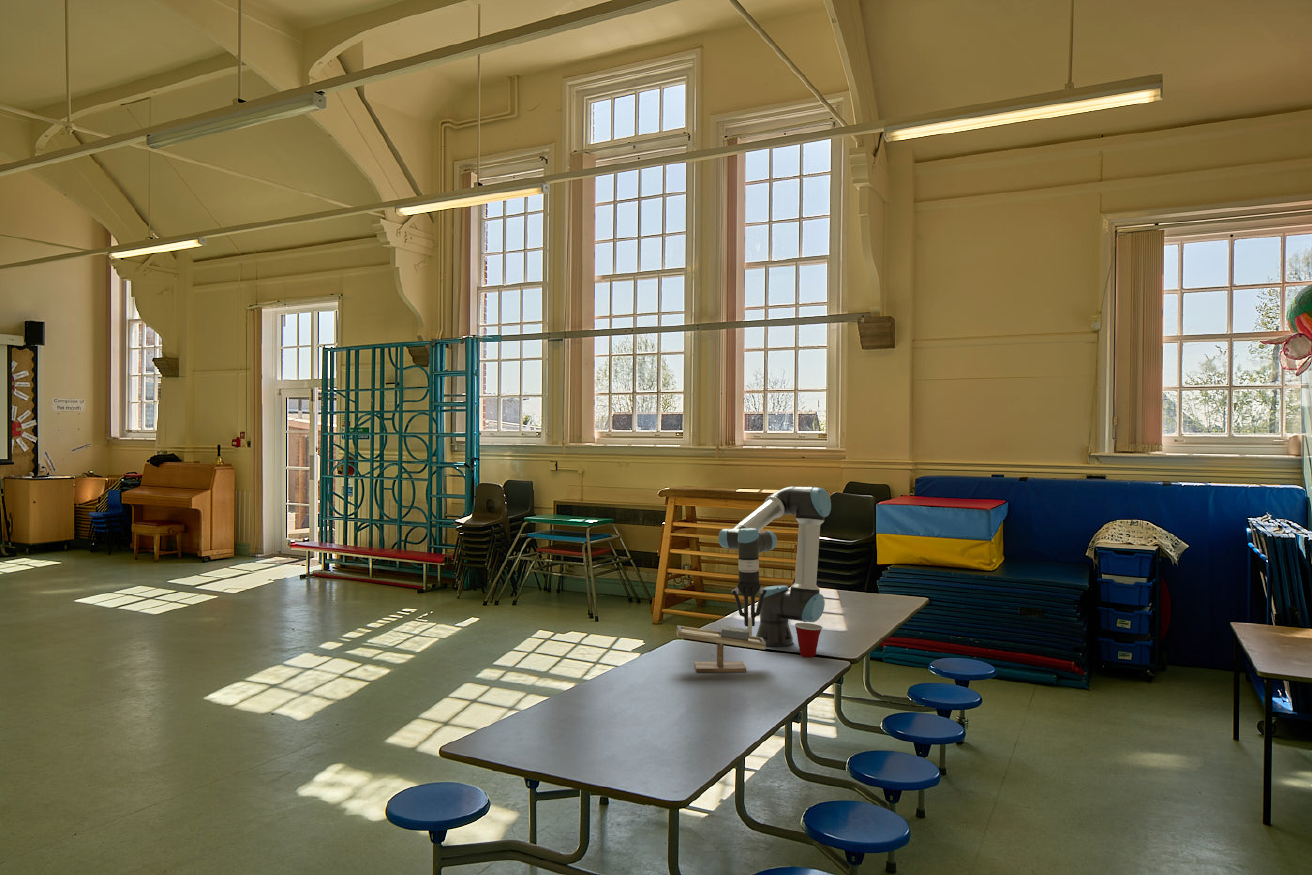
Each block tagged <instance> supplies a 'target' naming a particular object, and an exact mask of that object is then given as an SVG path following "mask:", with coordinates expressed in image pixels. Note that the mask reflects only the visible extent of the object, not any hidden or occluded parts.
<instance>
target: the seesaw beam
mask: <svg viewBox="0 0 1312 875" xmlns="http://www.w3.org/2000/svg"><path fill="white" fill-rule="evenodd" d="M675 632H676V637H677V638H681V639H687V640H688V639H689V640H694V641H702V642H708V643H709V642H710V643H716V644H717V643H719V644H720V646H722V645H723V646H724V645H731V646H737V647H745V648H752V649H757V650H758V649H759V650H766V647H767V646H766V642H765V641H764V639H763V638H762V637H756V636H753V635H752V636H749V638H748V641H746V640H739V639H732V638H725V637H720V636H719V630H718V631H717V630H712V629H711V630H710V629H704V628H699V627H698V628H696V627H691V626H684V625H677V626H676V631H675Z"/></svg>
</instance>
